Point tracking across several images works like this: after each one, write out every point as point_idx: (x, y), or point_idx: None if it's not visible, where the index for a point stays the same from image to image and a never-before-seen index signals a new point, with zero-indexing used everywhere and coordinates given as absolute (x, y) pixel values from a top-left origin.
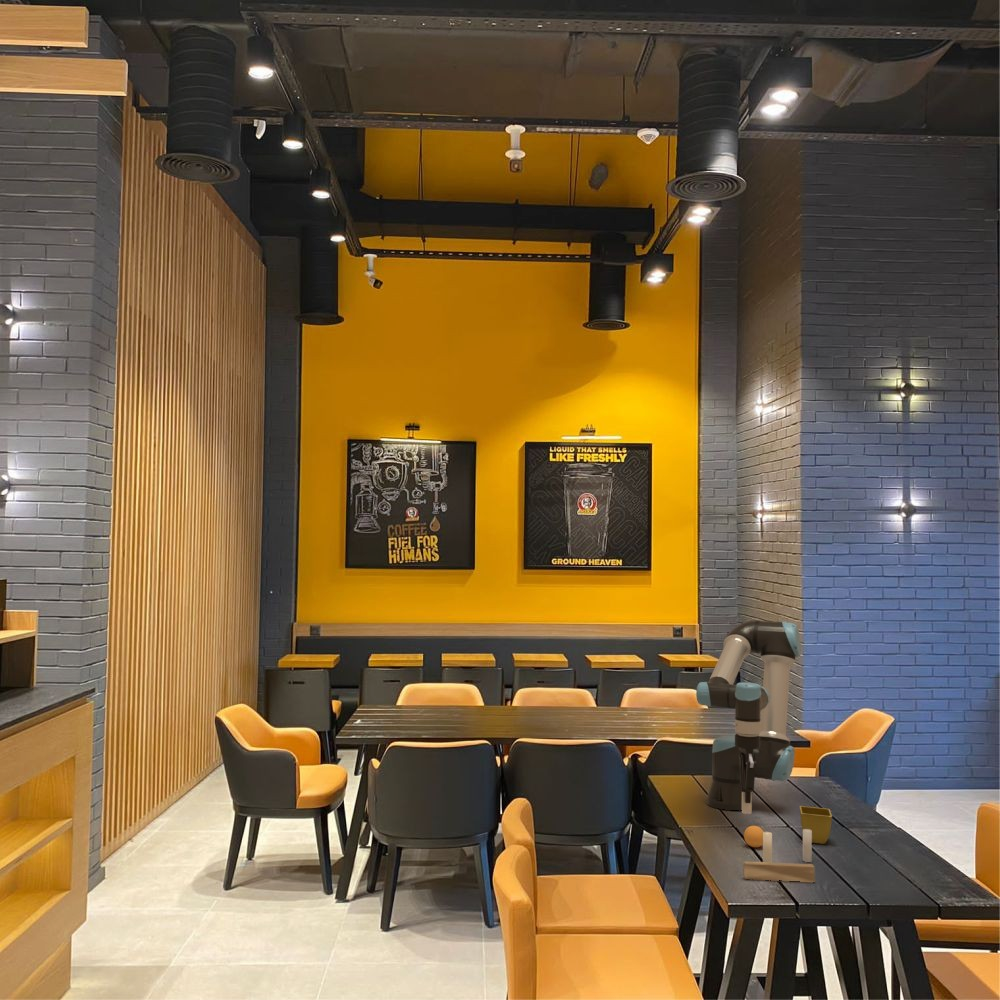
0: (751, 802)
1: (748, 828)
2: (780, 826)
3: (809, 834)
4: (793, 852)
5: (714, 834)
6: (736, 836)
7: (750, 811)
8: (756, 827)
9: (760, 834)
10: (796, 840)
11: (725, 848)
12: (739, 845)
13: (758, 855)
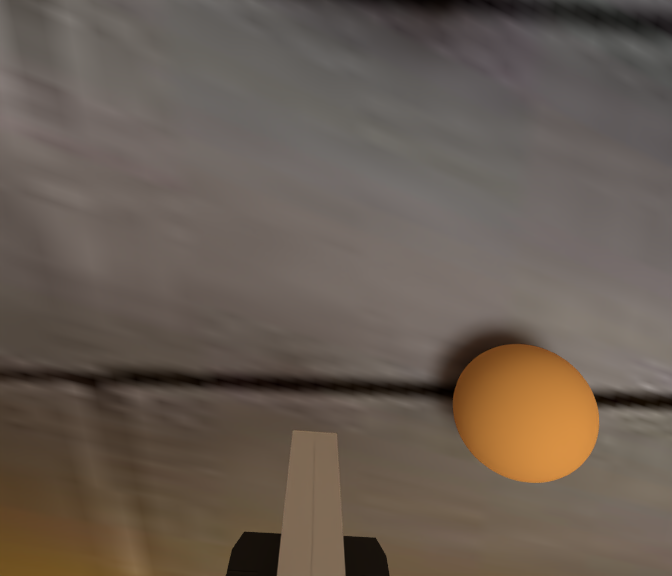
0: (340, 519)
1: (544, 481)
2: (25, 33)
3: None
4: (614, 185)
5: (274, 510)
6: (304, 416)
7: (335, 456)
8: (579, 446)
9: (597, 409)
10: (381, 52)
11: (497, 512)
12: (459, 441)
13: (621, 397)
